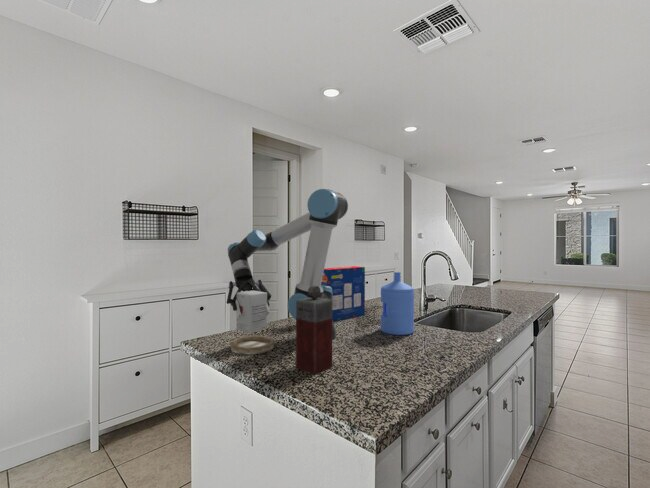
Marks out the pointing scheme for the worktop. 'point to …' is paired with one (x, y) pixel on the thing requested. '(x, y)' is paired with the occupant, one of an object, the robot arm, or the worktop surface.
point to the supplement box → (252, 311)
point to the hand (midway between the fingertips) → (254, 315)
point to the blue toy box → (346, 291)
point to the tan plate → (252, 344)
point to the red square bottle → (314, 332)
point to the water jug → (397, 307)
